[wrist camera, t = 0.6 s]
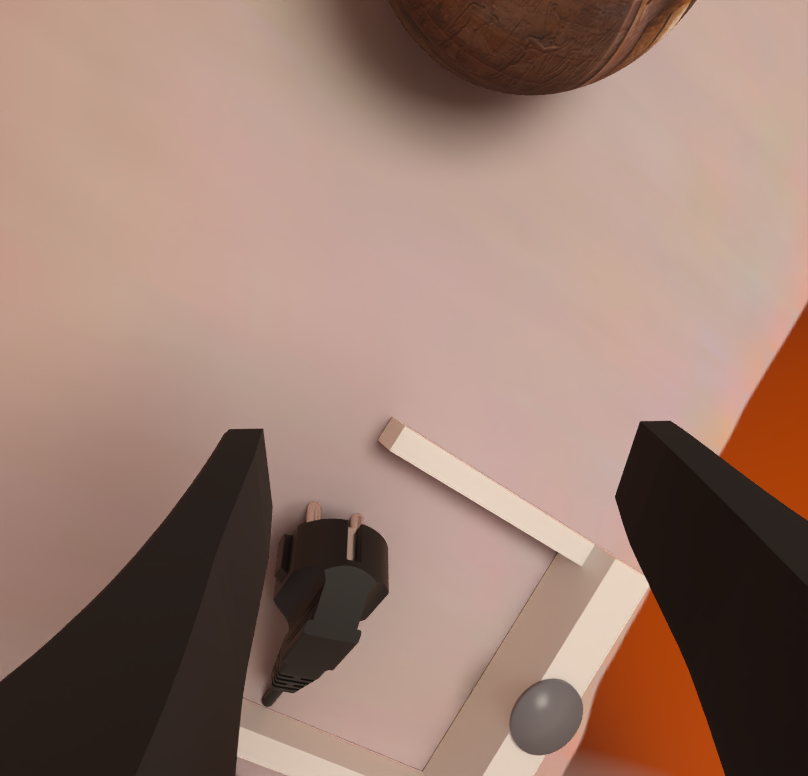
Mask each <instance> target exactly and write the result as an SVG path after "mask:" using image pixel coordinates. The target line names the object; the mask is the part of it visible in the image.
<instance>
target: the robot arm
mask: <svg viewBox="0 0 808 776" xmlns="http://www.w3.org/2000/svg"><path fill="white" fill-rule="evenodd" d="M615 499H616V502H617V505H618V509H619V512H620V515H621V519H622V522H623V525H624V528H625V531H626V534H627V537H628V540H629V543H630V545H631V547H632V550H633V552H634V554H635V556H636V558H637V561H638V563H639V565H640V567H641V569H642V571H643V573H644V575H645V578H646V580H647V582H648V584H649V586H650V588H651V590H652V592H653V594H654V596H655V598H656V600H657V603H658V604H659V607H660V609H661V611H662V613H663V615H664V617H665V619H666V621H667V623H668V625H669V628H670V630H671V632H672V634H673V636H674V638H675V640H676V642H677V644H678V646H679V648H680V651H681V653H682V655H683V658H684V660H685V662H686V665H687V667H688V669H689V672H690V674H691V677H692V680H693V683H694V686H695V688H696V691H697V694H698V697H699V699H700V702H701V705H702V707H703V711H704V713H705V716H706V719H707V721H708V725H709V728H710V731H711V734H712V737H713V740H714V743H715V746H716V749H717V752H718V755H719V758H720V761H721V764H722V767H723V770H724V773H725V776H808V521H807V520H806V519H804V518H803V517H801V516H800V515H798V514H797V513H795V512H794V511H793V510H791V509H790V508H788V507H787V506H785V505H784V504H783V503H781V502H780V501H778V500H777V499H776V498H774V497H773V496H771V495H770V494H769V493H767V492H766V491H764V490H763V489H762V488H760V487H759V486H758V485H756V484H755V483H754V482H752V481H751V480H750V479H748V478H747V477H746V476H744V475H743V474H742V473H740V472H739V471H737V470H736V469H735V468H734V467H732V466H731V465H729V464H728V463H727V462H726V461H724V460H723V459H722V458H720V457H719V456H718V455H717V454H715V453H714V452H713V451H711V450H710V449H709V448H707V447H706V446H705V445H703V444H702V443H701V442H699V441H698V440H697V439H695V438H694V437H693V436H691V435H690V434H689V433H687V432H686V431H684V430H683V429H682V428H680V427H679V426H677V425H676V424H674V423H673V422H671V421H640V423H639V426H638V429H637V432H636V435H635V438H634V441H633V444H632V447H631V450H630V453H629V456H628V459H627V462H626V465H625V468H624V471H623V474H622V477H621V480H620V483H619V486H618V489H617V492H616V495H615ZM272 508H273V507H272V498H271V490H270V482H269V473H268V465H267V457H266V449H265V440H264V432H263V429H229V430H228V431H227V432H226V433H225V434H224V435H223V437H222V438H221V440H220V442H219V443H218V445H217V447H216V448H215V450H214V451H213V453H212V454H211V456H210V458H209V459H208V461H207V462H206V464H205V465H204V467H203V468H202V470H201V471H200V472H199V474H198V475H197V477H196V478H195V480H194V481H193V483H192V484H191V485H190V487H189V488H188V489H187V491H186V492H185V493H184V495H183V496H182V498H181V499H180V500H179V502H178V503H177V504H176V506H175V507H174V508H173V510H172V511H171V512H170V514H169V515H168V516H167V517H166V519H165V520H164V521H163V522H162V524H161V525H160V526H159V527H158V528H157V530H156V531H155V532H154V533H153V534H152V536H151V537H150V538H149V539H148V541H147V542H146V543H145V544H144V545H143V547H142V548H141V549H140V550H139V551H138V553H137V554H136V555H135V556H134V557H133V558H132V559H131V560H130V561H129V563H128V564H127V565H126V566H125V567H124V568H123V569H122V570H121V571H120V572H119V574H118V575H117V576H116V577H115V578H114V579H113V580H112V581H111V582H110V583H109V584H108V585H107V586H106V587H105V588H104V589H103V590H102V591H101V592H100V593H99V594H98V595H97V596H96V597H95V598H94V599H93V600H92V601H91V602H90V603H89V604H88V605H87V606H86V607H85V608H84V609H83V610H82V611H81V612H80V613H79V614H78V615H77V616H75V617H74V618H73V619H72V620H71V621H70V622H69V623H68V624H67V625H66V626H65V627H64V628H63V629H62V630H61V631H60V632H59V633H57V634H56V635H55V636H54V637H53V638H52V639H51V640H50V641H48V642H47V643H46V644H45V645H44V646H43V647H42V648H41V649H39V650H38V651H37V652H36V653H35V654H34V655H32V656H31V657H30V658H29V659H28V660H26V661H25V662H24V663H23V664H21V665H20V666H19V667H18V668H17V669H15V670H14V671H13V672H12V673H10V674H9V675H8V676H7V677H5V678H4V679H3V680H2V681H1V682H0V776H235V772H236V761H237V750H238V740H239V730H240V720H241V710H242V700H243V692H244V685H245V679H246V672H247V666H248V661H249V656H250V651H251V646H252V641H253V636H254V631H255V626H256V620H257V615H258V610H259V605H260V600H261V595H262V590H263V585H264V579H265V574H266V569H267V563H268V558H269V548H270V536H271V522H272Z"/></svg>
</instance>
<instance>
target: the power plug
mask: <svg viewBox="0 0 808 776" xmlns="http://www.w3.org/2000/svg"><path fill="white" fill-rule="evenodd" d="M348 523H349V521H348V520H343V519H321V505H320V504H319V503H318V502H311V503H310V504H309V505H308V507H307V516H306V523H303V524H301V525H299V526H298V527H297V528H296V530H295V531H294V533H293V535H292V536H291V535H287V534H285V535H284V536H283V538H282V540H281V541H280V543H279V549H278V556H277V563H276V570H275V577H276V578H277V579H276V586H275V593H274V602H275V603H276V605H277V606H278V608H279V609H280V610H281V612H282V613H283V614H284V616H285V617H286V619H287V620H288V623H289V632H288V633H287V635H286V636H285V638H284V640H283V643H282V645H281V648H280V651H279V654H278V656H277V659H276V662H275V665H274V667H273V670H272V677H271V688H270V689H269V690H268V691H267V693H266V694H265V695H264V696H263V698H262V703H263V705H264V706H266V707H270V706H271V705H272V704H273V703H274V702H275V701H276V699H277V698H278V697H279V696H280V695H281V693H282V692H283V691H284V692H290V693H295V692H296V691H298V690H299V689H301V688H303V687H304V686H306V685H308V684H309V683H311V682H313V681H315V680H317V679H318V678H319V677H320V676H321V675H322V674H323V673H324V672H325V671H327V670H334V669H335V667H336V666H337V665H338V664H339V663H340V662H341V661H342V660H343V659H344V658H345V656H346V655H347V654H348V653H349V652H350V651H351V650H352V649H353V648H354V646H355V645H356V644H357V643H358V642H359V639H360V636H361V631H360V630H357V628H358V625H359V622H360V621H362V620H365V619H366V618H367V617H368V616H369V615H370V614H371V613H372V612H373V610H374V609H375V608H376V607H377V606H378V605H379V604H380V602H381V601H382V600H383V599H384V598H385V597H386V596H387V595H388V593H389V583H388V547H387V544H386V541H385V540H384V538H383V537H382V536H381V535H380V534H379V533H378V532H377V531H375V530H374V529H372V528H370V527H368V526H366V525H364V517H363V516H362V515H361V514H354V515H353V516H352V517H351V522H350V527H348Z"/></svg>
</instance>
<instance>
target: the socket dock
mask: <svg viewBox="0 0 808 776" xmlns="http://www.w3.org/2000/svg"><path fill="white" fill-rule="evenodd" d="M378 441H380V442H381V443H382V444H383V445H384V446H385V447H386V448H387V449H388V450H389V451H391V452H393V453H394V454H396V455H398V456H399V457H401V458H403V459H404V460H406V461H408V462H409V463H411V464H413V465H414V466H416V467H417V468H419V469H421V470H422V471H424V472H426V473H427V474H429V475H431V476H432V477H434V478H436V479H437V480H439V481H441V482H442V483H444V484H446V485H447V486H449V487H451V488H452V489H454V490H456V491H457V492H459V493H461V494H462V495H464V496H466V497H467V498H469V499H471V500H472V501H474V502H476V503H477V504H479V505H480V506H482V507H484V508H485V509H487V510H489V511H490V512H492V513H494V514H495V515H497V516H499V517H500V518H502V519H504V520H505V521H507V522H509V523H510V524H512V525H514V526H515V527H517V528H519V529H520V530H522V531H524V532H525V533H527V534H529V535H530V536H532V537H534V538H535V539H537V540H539V541H540V542H542V543H543V544H545V545H547V546H548V547H550V548H552V549H553V550H555V551H557V552H558V553H557V555H556V556H555V558H554V560H553V561H552V563H551V565H550V566H549V568H548V569H547V571H546V573H545V574H544V576H543V577H542V579H541V581H540V582H539V584H538V586H537V587H536V589H535V590H534V592H533V594H532V595H531V597H530V599H529V600H528V602H527V603H526V605H525V607H524V608H523V610H522V611H521V613H520V615H519V616H518V618H517V620H516V621H515V623H514V624H513V626H512V628H511V629H510V631H509V633H508V634H507V636H506V637H505V639H504V641H503V642H502V644H501V645H500V647H499V649H498V650H497V652H496V654H495V655H494V657H493V658H492V660H491V662H490V663H489V665H488V667H487V668H486V670H485V671H484V673H483V675H482V676H481V678H480V679H479V681H478V683H477V684H476V686H475V688H474V689H473V691H472V692H471V694H470V696H469V697H468V699H467V701H466V702H465V704H464V705H463V707H462V709H461V710H460V712H459V713H458V715H457V717H456V718H455V720H454V722H453V723H452V725H451V726H450V728H449V730H448V731H447V733H446V734H445V736H444V738H443V739H442V741H441V743H440V744H439V746H438V747H437V749H436V751H435V752H434V754H433V756H432V757H431V759H430V760H429V762H428V764H427V765H426V767H425V768H424V770H423V772H422V771H420V770H417V769H415V768H412V767H410V766H408V765H405V764H403V763H400V762H398V761H395V760H393V759H390V758H388V757H386V756H383V755H381V754H378V753H376V752H373V751H371V750H368V749H366V748H364V747H361V746H359V745H356V744H354V743H351V742H349V741H346V740H344V739H342V738H339V737H337V736H334V735H332V734H329V733H327V732H324V731H322V730H319V729H317V728H315V727H312V726H310V725H307V724H305V723H302V722H300V721H297V720H295V719H293V718H290V717H288V716H285V715H283V714H280V713H278V712H275V711H273V710H271V709H268V708H266V707H263V706H261V705H258V704H256V703H253V702H251V701H249V700H246V699H244V698H243V700H242V710H241V720H240V730H239V740H238V750H237V757H239V758H242V759H245V760H247V761H250V762H253V763H255V764H258V765H261V766H263V767H266V768H269V769H271V770H274V771H277V772H279V773H282V774H285V775H287V776H533V775H534V774H535V772H536V770H537V769H538V767H539V765H540V764H541V762H542V761H543V759H544V757H545V756H546V755H547V754H550V753H553V752H555V751H557V750H559V749H560V748H562V747H563V746H565V745H566V744H567V743H568V742H569V741H570V740H571V739H572V737H573V736H574V735H575V733H576V732H577V730H578V728H579V726H580V723H581V720H582V715H583V704H582V700H581V697H582V695H583V693H584V692H585V690H586V689H587V687H588V685H589V684H590V682H591V680H592V679H593V677H594V675H595V674H596V672H597V671H598V669H599V667H600V666H601V664H602V662H603V661H604V659H605V657H606V656H607V654H608V653H609V651H610V649H611V648H612V646H613V644H614V643H615V641H616V639H617V638H618V636H619V635H620V633H621V631H622V630H623V628H624V626H625V625H626V623H627V621H628V620H629V618H630V617H631V615H632V613H633V612H634V610H635V608H636V607H637V605H638V603H639V602H640V600H641V599H642V597H643V595H644V594H645V592H646V590H647V589H648V587H649V584H648V582H647V580H646V578H645V576H644V575H642V574H641V573H639V572H638V571H636V570H635V569H633V568H632V567H630V566H629V565H627V564H626V563H624V562H622V561H621V560H619V559H618V558H616V557H615V556H613V555H612V554H610V553H609V552H607V551H606V550H604V549H603V548H601V547H599V546H598V545H596V544H595V543H593V542H592V541H590V540H588V539H587V538H585V537H584V536H582V535H580V534H579V533H577V532H576V531H574V530H572V529H571V528H569V527H568V526H566V525H564V524H563V523H561V522H560V521H558V520H556V519H555V518H553V517H552V516H550V515H548V514H547V513H545V512H544V511H542V510H540V509H539V508H537V507H536V506H534V505H532V504H531V503H529V502H528V501H526V500H524V499H523V498H521V497H520V496H518V495H516V494H515V493H513V492H512V491H510V490H508V489H507V488H505V487H504V486H502V485H500V484H499V483H497V482H496V481H494V480H492V479H491V478H489V477H488V476H486V475H484V474H483V473H481V472H480V471H478V470H476V469H475V468H473V467H472V466H470V465H468V464H467V463H465V462H464V461H462V460H460V459H459V458H457V457H456V456H454V455H452V454H451V453H449V452H448V451H446V450H444V449H443V448H441V447H440V446H438V445H436V444H435V443H433V442H432V441H430V440H428V439H427V438H425V437H424V436H422V435H420V434H419V433H417V432H416V431H414V430H412V429H411V428H409V427H408V426H406V425H404V424H403V423H401V422H400V421H398V420H396V419H395V418H393V417H392V418H391V420H390V421H389V423H388V425H387V426H386V428H385V429H384V431H383V432H382V434H381V436H380V437H379V439H378Z"/></svg>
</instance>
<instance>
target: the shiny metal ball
mask: <svg viewBox="0 0 808 776" xmlns="http://www.w3.org/2000/svg"><path fill="white" fill-rule="evenodd" d="M389 2H390V4H391V6H392V8H393V10H394V11H395V13H396V15H397V16H398V18H399V20H400V21H401V23H402V24H403V25H404V27H405V28H406V30H407V31H408V32H409V34H410V35H411V36H412V37H413V39H414V40H415V41H416V42H417V43H418V44H419V45H420V46H421V47H422V48H423V49H424V50H425V51H426V52H427V53H428V54H429V55H430V56H431V57H432V58H433V59H434V60H436V61H437V62H438V63H439V64H441V65H442V66H443V67H445V68H446V69H448V70H449V71H451V72H452V73H454V74H456V75H457V76H459V77H461V78H463V79H465V80H467V81H469V82H471V83H473V84H476V85H478V86H481V87H484V88H487V89H490V90H494V91H498V92H503V93H509V94H517V95H545V94H554V93H560V92H565V91H569V90H573V89H577V88H580V87H583V86H586V85H589V84H592V83H594V82H597V81H599V80H601V79H604V78H606V77H608V76H610V75H612V74H614V73H615V72H617V71H619V70H621V69H622V68H624V67H626V66H627V65H629V64H630V63H632V62H633V61H635V60H636V59H638V58H639V57H641V56H642V55H643V54H644V53H646V52H647V51H648V50H650V49H651V48H652V47H653V46H654V45H656V44H657V43H658V42H659V41H660V40H661V39H662V38H663V37H664V36H665V35H667V34H668V33H669V32H670V31H671V29H672V28H673V27H674V26H675V25H676V24H677V23H678V22H679V21H680V20H681V19H682V18H683V16H684V15H685V14H686V13H687V12H688V10H689V9H690V8H691V7H692V5H693V4H694V3H695V2H696V0H389Z"/></svg>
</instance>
